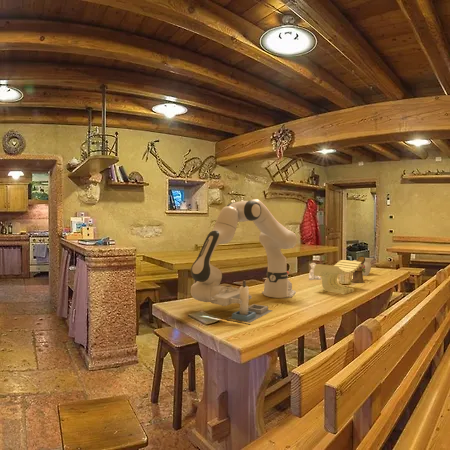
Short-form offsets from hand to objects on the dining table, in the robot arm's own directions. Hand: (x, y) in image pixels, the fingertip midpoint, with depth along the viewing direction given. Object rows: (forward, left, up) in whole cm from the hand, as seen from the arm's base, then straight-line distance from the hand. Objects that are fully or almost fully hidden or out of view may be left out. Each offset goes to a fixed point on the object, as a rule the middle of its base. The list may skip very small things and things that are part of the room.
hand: (245, 299), depth 168 cm
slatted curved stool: (-89, +17, -10) cm, 91 cm away
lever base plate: (-7, -1, -9) cm, 12 cm away
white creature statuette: (-119, -9, -10) cm, 119 cm away
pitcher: (-161, +17, -10) cm, 162 cm away
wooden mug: (-129, +21, -10) cm, 131 cm away
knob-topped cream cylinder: (0, -1, -8) cm, 9 cm away
